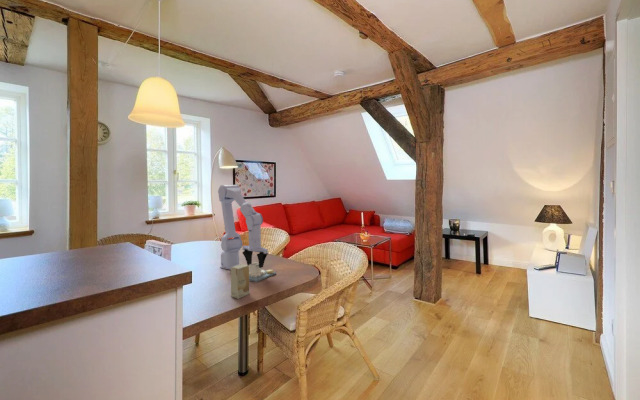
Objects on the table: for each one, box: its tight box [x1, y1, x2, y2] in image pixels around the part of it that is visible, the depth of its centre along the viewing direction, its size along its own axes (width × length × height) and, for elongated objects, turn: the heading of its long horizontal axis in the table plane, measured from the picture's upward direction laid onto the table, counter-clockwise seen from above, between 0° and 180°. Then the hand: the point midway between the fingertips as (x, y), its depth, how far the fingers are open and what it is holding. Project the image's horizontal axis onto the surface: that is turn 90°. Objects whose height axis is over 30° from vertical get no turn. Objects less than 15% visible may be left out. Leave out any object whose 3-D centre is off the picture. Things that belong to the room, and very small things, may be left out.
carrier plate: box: [249, 268, 277, 283], centre depth 149 cm, size 14×14×4 cm
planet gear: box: [249, 261, 266, 277], centre depth 149 cm, size 9×9×5 cm
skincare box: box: [230, 263, 250, 299], centre depth 123 cm, size 6×4×12 cm
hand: (255, 266), depth 149 cm, fingers open, 7 cm apart
